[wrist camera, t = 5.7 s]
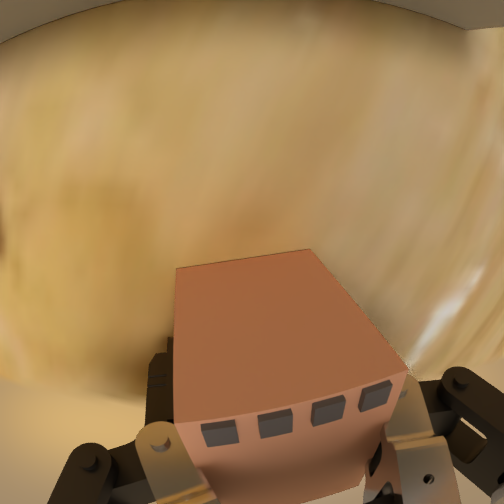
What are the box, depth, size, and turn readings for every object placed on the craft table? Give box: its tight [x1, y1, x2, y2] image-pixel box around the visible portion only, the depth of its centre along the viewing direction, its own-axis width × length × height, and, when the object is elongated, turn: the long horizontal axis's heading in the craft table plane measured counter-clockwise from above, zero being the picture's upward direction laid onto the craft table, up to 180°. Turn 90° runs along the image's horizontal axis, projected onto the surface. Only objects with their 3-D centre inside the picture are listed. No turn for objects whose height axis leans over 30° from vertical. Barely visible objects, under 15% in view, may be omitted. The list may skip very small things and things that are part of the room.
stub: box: [173, 249, 409, 504], centre depth 9 cm, size 4×6×6 cm
